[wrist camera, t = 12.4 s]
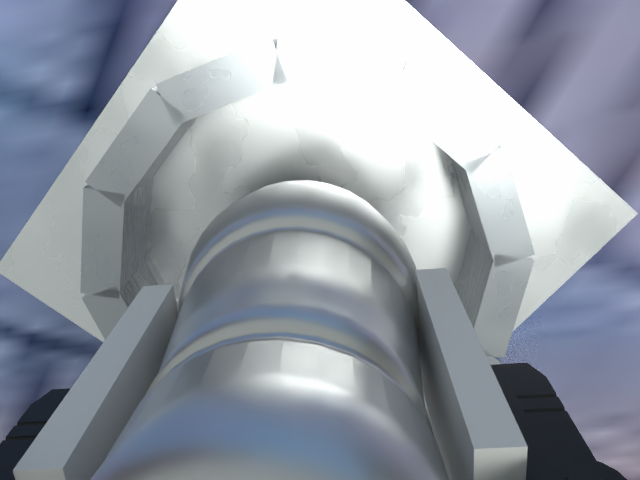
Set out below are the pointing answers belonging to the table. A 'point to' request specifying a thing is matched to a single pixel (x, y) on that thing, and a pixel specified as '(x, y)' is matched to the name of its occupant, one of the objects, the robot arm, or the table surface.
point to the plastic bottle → (289, 352)
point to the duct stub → (314, 160)
